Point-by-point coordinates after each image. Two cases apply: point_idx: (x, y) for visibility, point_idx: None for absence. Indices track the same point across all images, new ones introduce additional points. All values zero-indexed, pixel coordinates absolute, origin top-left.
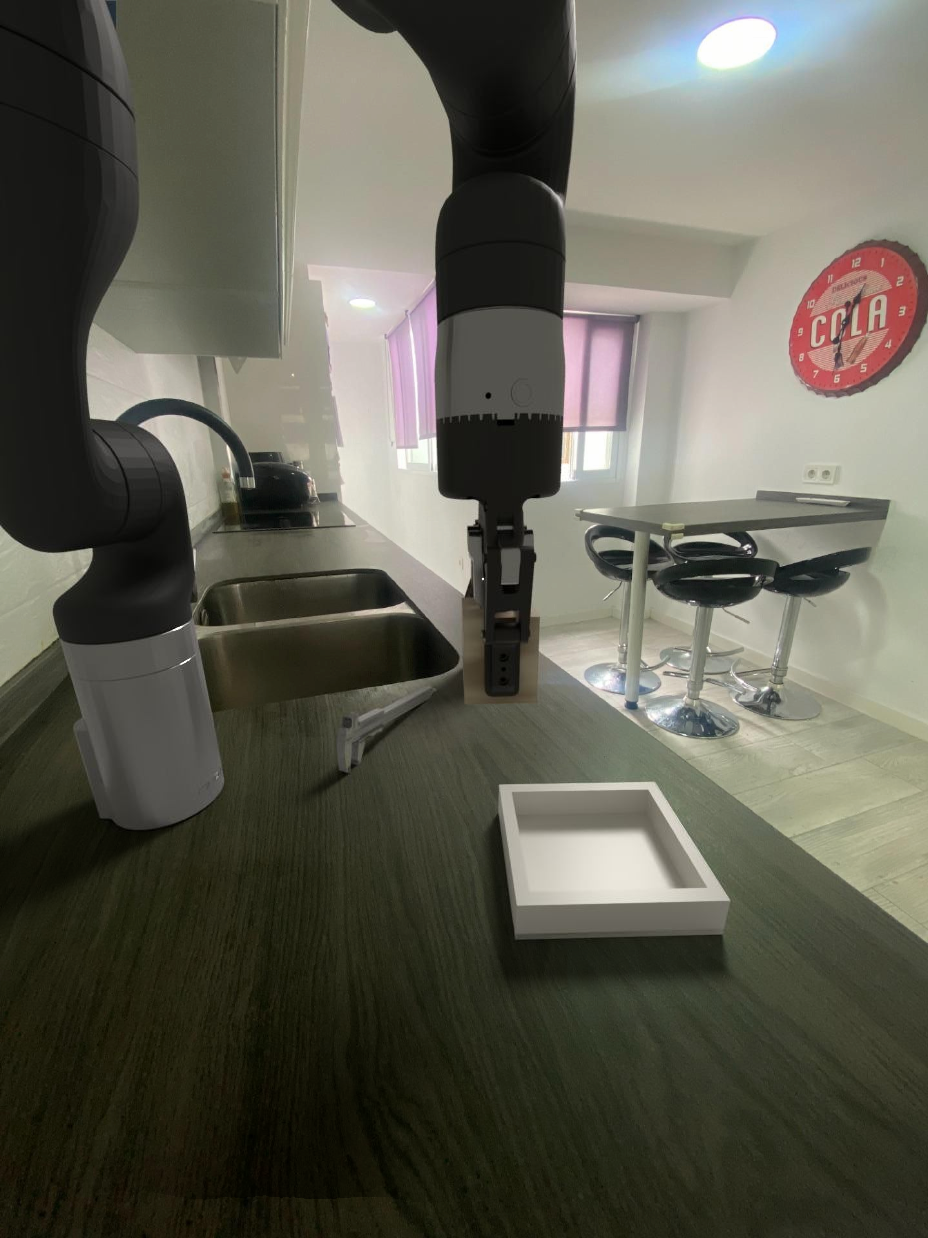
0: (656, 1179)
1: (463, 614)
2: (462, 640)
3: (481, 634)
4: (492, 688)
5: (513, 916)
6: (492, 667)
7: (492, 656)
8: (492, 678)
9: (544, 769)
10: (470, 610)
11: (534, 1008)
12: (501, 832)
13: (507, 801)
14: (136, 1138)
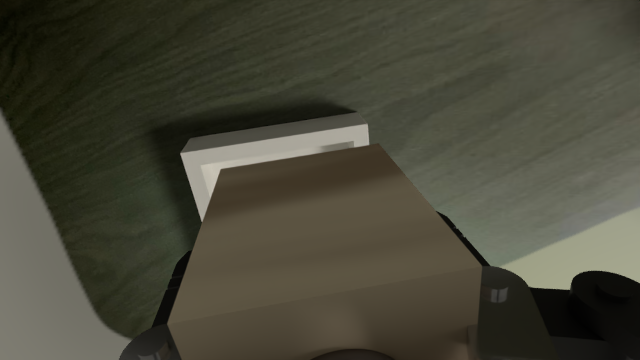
0: (58, 222)
1: (224, 316)
2: (388, 187)
3: (138, 348)
4: (181, 259)
5: (205, 138)
6: (165, 296)
7: (153, 322)
8: (172, 276)
9: (439, 166)
10: (285, 328)
11: (133, 154)
12: (319, 119)
13: (334, 136)
14: None
